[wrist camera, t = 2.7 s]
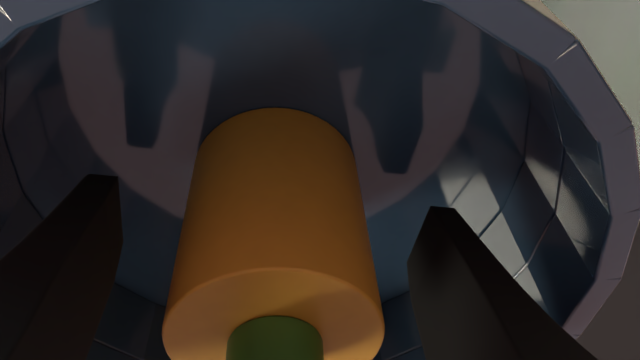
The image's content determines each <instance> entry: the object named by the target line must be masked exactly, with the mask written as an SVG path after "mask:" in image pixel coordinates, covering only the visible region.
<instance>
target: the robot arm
mask: <svg viewBox="0 0 640 360" xmlns="http://www.w3.org/2000/svg"><path fill="white" fill-rule="evenodd" d="M122 246H123V229H122V217H121V206H120V194H119V182H118V176H107V175H97V174H88V175H87V176H85V177H84V178H83V179H82V180H81V181H80V182H79V183H78V184H77V185H76V186H75V188H74V189H73V190H72V191H71V192H70V193H69V194H68V195H67V196H66V197H65V198H64V199H63V200H62V201H61V202H60V203H59V204H58V205H57V207H56V208H55V209H54V210H53V211H52V212H51V213H50V214H49V215H48V216H47V217H46V218H45V219H44V220H43V221H42V222H40V223H39V224H38V225H37V226H36V227H35V228H34V229H33V230H32V231H31V232H30V233H29V234H28V235H27V236H26V237H25V238H24V239H23V240H22V241H21V242H20V243H18V244H17V245H16V246H15V247H14V248H13V249H12V250H11V251H9V252H8V253H7V254H6V255H5V256H4V257H2V258H1V259H0V360H86V358H87V355H88V353H89V350H90V347H91V344H92V342H93V339H94V336H95V333H96V331H97V328H98V325H99V323H100V320H101V317H102V314H103V312H104V309H105V306H106V303H107V301H108V298H109V295H110V292H111V289H112V287H113V284H114V281H115V276H116V272H117V268H118V264H119V259H120V255H121V250H122ZM407 272H408V281H409V289H410V297H411V303H412V307H413V311H414V315H415V319H416V323H417V327H418V331H419V335H420V339H421V343H422V347H423V350H424V354H425V358H426V360H598V359H597V358H596V357H594V356H593V355H592V354H591V353H590V352H589V351H587V350H586V349H585V348H584V347H583V346H582V345H580V344H579V343H578V342H577V341H576V340H575V339H574V338H573V337H572V336H571V335H569V334H568V333H567V332H566V331H565V330H564V329H563V328H562V327H561V326H560V325H558V324H557V323H556V322H555V321H554V320H553V319H552V318H551V317H550V316H549V315H548V314H547V313H546V312H545V311H544V310H543V309H542V308H541V307H540V306H539V305H538V304H537V303H536V302H535V301H534V300H533V298H532V297H531V296H530V295H529V294H528V293H527V292H526V291H525V290H524V289H523V288H522V287H521V286H520V285H519V284H518V282H517V281H516V280H515V279H514V278H513V277H512V276H511V275H510V273H509V272H508V271H507V270H506V269H505V268H504V267H503V265H502V264H501V263H500V262H499V261H498V260H497V258H496V257H495V256H494V255H493V254H492V253H491V251H490V250H489V249H488V248H487V247H486V245H485V244H484V243H483V242H482V240H481V239H480V238H479V237H478V236H477V234H476V233H475V232H474V231H473V230H472V228H471V227H470V226H469V225H468V223H467V222H466V221H465V220H464V219H463V217H462V216H461V215H460V214H459V213H458V212H457V211H456V209H455V208H449V207H438V206H430V208H429V210H428V213H427V215H426V217H425V220H424V222H423V224H422V227H421V229H420V232H419V234H418V236H417V239H416V241H415V243H414V246H413V248H412V251H411V253H410V255H409V258H408V260H407Z"/></svg>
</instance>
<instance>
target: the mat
mask: <svg viewBox="0 0 640 360" xmlns="http://www.w3.org/2000/svg"><path fill="white" fill-rule="evenodd" d="M576 341H577V342H578V343H579V344H580V345H582V346H583V347H584V348H585V349H586V350H587V351H589V352H590V353H591V354H592V355H593V356H594V357H596V358H597V359H598V360H640V221H639V225H638V228H637V231H636V235H635V238H634V241H633V244H632V248H631V251H630V254H629V257H628V261H627V264H626V267H625V271H624V274H623V276H622V277H621V281H620V282H619V284H618V285H617V286H616V288H615V289H614V291H613V292H612V293H611V295H610V296H609V297H608V299H607V300H606V302H605V303H604V304H603V306H602V307H601V308H600V310H599V311H598V313H597V314H596V315H595V317H594V318H593V319H592V321H591V322H590V323H589V325H588V326H587V328H586V329H585V330H584V332H583V333H582V334H581V335H580V336H579V337H578V338H577V339H576Z"/></svg>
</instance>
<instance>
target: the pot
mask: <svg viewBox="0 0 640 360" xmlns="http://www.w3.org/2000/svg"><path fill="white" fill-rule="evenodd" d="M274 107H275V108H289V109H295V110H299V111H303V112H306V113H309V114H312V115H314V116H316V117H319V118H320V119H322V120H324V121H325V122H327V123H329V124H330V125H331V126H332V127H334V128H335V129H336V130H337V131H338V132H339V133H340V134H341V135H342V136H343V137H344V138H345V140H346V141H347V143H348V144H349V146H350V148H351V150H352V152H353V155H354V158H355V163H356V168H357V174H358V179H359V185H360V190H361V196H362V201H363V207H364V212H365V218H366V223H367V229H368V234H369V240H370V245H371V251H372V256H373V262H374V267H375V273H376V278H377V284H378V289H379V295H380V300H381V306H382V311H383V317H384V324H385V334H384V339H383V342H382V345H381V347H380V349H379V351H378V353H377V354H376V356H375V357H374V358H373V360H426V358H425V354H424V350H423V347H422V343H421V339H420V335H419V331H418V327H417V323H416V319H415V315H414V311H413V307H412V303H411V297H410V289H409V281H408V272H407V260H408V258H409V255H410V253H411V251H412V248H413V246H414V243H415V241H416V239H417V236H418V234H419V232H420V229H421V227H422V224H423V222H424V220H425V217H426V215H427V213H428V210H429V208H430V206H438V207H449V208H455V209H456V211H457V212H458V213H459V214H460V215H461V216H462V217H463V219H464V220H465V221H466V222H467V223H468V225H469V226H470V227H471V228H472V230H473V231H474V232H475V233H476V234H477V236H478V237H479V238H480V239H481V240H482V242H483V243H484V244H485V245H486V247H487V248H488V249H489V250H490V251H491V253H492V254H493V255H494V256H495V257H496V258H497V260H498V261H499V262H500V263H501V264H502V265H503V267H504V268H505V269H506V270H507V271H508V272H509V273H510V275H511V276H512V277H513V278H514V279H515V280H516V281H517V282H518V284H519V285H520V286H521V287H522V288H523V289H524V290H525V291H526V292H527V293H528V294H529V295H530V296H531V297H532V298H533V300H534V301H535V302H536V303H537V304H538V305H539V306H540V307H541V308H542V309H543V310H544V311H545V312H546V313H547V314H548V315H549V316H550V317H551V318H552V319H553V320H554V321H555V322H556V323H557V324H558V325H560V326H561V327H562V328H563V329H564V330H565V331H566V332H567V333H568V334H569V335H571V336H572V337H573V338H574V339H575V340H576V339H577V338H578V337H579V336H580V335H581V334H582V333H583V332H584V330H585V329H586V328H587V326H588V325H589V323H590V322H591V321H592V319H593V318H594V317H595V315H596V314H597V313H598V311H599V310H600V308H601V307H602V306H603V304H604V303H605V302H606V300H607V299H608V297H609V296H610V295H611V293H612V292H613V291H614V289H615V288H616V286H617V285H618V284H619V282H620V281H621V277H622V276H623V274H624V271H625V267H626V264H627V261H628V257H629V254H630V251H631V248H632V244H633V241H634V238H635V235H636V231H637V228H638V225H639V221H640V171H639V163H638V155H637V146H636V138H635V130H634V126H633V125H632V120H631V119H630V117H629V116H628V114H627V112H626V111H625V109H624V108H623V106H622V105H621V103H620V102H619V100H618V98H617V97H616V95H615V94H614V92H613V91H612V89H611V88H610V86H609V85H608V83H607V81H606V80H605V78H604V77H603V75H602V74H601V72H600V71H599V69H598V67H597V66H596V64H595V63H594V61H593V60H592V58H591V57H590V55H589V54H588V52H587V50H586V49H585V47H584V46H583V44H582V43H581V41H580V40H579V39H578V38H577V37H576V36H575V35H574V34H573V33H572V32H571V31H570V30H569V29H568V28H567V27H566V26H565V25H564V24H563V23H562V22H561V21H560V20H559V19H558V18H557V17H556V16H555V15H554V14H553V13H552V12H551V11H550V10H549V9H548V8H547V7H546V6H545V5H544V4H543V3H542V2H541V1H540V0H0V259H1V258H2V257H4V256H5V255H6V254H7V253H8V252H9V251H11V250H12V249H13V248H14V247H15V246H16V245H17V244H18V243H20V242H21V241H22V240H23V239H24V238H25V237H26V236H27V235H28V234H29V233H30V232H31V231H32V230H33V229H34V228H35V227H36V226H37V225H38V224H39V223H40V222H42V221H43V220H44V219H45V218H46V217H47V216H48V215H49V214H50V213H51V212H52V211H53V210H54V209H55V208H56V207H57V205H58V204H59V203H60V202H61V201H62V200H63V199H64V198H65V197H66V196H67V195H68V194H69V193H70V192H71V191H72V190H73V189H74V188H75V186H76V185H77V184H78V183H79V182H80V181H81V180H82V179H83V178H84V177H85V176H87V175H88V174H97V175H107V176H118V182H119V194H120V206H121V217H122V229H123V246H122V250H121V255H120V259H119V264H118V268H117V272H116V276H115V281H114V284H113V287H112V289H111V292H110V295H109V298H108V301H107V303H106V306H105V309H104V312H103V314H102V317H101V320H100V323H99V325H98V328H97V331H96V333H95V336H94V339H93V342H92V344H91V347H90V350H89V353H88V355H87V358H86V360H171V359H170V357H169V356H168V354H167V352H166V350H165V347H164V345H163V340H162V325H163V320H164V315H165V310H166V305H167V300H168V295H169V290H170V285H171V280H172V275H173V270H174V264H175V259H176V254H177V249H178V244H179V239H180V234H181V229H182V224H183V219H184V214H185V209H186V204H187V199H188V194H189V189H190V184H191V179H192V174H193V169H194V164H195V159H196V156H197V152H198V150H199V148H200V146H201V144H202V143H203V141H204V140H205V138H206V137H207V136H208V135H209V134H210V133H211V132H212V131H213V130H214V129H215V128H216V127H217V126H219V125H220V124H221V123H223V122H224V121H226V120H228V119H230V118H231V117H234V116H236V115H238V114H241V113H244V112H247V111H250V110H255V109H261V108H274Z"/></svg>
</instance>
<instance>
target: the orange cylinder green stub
mask: <svg viewBox="0 0 640 360" xmlns="http://www.w3.org/2000/svg"><path fill="white" fill-rule="evenodd" d="M384 334H385V324H384V317H383V311H382V306H381V300H380V295H379V289H378V284H377V278H376V273H375V267H374V262H373V256H372V251H371V245H370V240H369V234H368V229H367V223H366V218H365V212H364V207H363V201H362V196H361V190H360V185H359V179H358V174H357V168H356V163H355V158H354V155H353V152H352V150H351V148H350V146H349V144H348V143H347V141H346V140H345V138H344V137H343V136H342V135H341V134H340V133H339V132H338V131H337V130H336V129H335V128H334V127H332V126H331V125H330V124H329V123H327V122H325V121H324V120H322V119H320V118H319V117H316V116H314V115H312V114H309V113H306V112H303V111H299V110H295V109H289V108H275V107H274V108H261V109H255V110H250V111H247V112H244V113H241V114H238V115H236V116H234V117H231V118H230V119H228V120H226V121H224V122H223V123H221V124H220V125H219V126H217V127H216V128H215V129H214V130H213V131H212V132H211V133H210V134H209V135H208V136H207V137H206V138H205V140H204V141H203V143H202V144H201V146H200V148H199V150H198V152H197V156H196V159H195V164H194V169H193V174H192V179H191V184H190V189H189V194H188V199H187V204H186V209H185V214H184V219H183V224H182V229H181V234H180V239H179V244H178V249H177V254H176V259H175V264H174V270H173V275H172V280H171V285H170V290H169V295H168V300H167V305H166V310H165V315H164V320H163V325H162V340H163V345H164V347H165V350H166V352H167V354H168V356H169V357H170V359H171V360H373V358H374V357H375V356H376V354H377V353H378V351H379V349H380V347H381V345H382V342H383V339H384Z"/></svg>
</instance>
